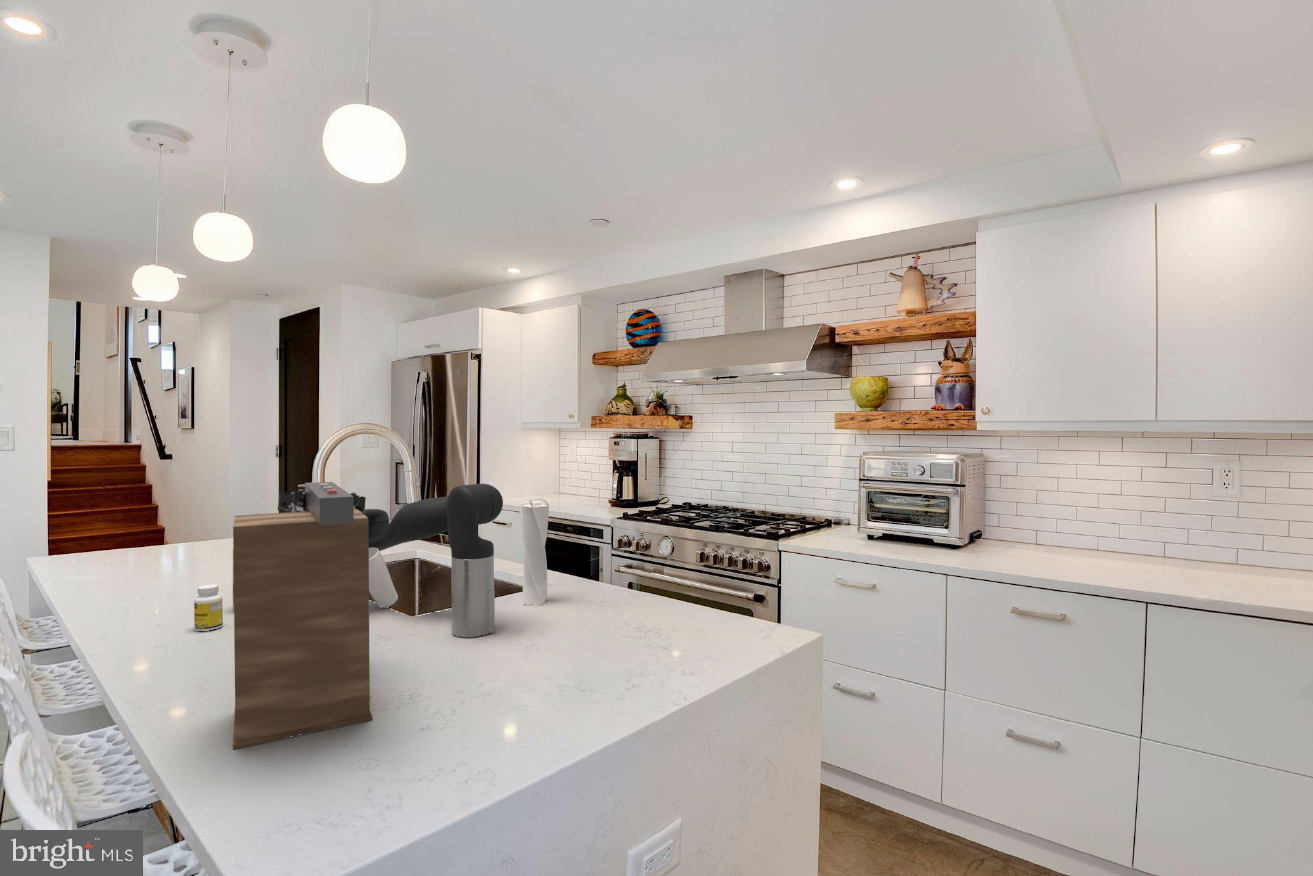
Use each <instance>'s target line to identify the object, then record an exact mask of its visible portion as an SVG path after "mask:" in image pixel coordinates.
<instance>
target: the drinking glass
mask: <svg viewBox="0 0 1313 876" xmlns="http://www.w3.org/2000/svg"><path fill="white" fill-rule="evenodd" d="M384 559H385V558H384V557H383V555H382V553H381V551H379V550H378V548H375V547H372V548H369V595H371V598H372V599H373V601H374V602H375V604H376V606H377V607H378V608H380V609H386V608H389V607H391V606H393V605H394V604H396V602H397V601H398V599H399V596H398V593H397V591H396V588H395V586H394V583H393V580H392V577H391V575H390V573H389V569H388V567H387V564H386V561H385V560H384ZM381 606H382V607H383V608H382V607H381Z"/></svg>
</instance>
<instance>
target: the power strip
mask: <svg viewBox="0 0 1313 876" xmlns="http://www.w3.org/2000/svg"><path fill="white" fill-rule="evenodd" d="M304 492H306V507H307V508H308V509H309V511H310V512H311V514H312V515H313V517H314V518H315V519H316V521H317V522H318V524H319V525H320V526H323V525H338V524H352V523H354V506H353V496H352V495H350V494H351V493H349V492H348V491H346V490H345V489H343V488H342V487H340V486H339V485H337V484H336V483H334V482H333V481H325V482H324V481H321V482H320V481H318V482H317V481H316V482H304Z"/></svg>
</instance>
